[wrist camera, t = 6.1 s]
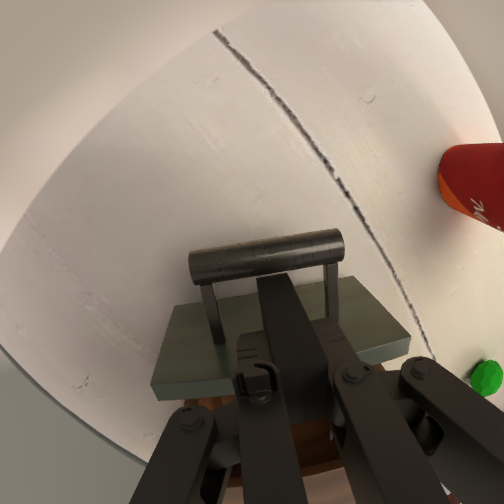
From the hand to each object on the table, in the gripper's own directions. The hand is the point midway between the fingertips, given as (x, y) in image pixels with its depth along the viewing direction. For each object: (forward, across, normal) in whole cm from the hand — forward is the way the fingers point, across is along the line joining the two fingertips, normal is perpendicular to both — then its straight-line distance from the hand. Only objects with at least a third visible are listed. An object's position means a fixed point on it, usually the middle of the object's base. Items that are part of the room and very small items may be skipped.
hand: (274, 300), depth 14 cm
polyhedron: (+6, +27, -21) cm, 34 cm away
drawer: (+5, 0, -6) cm, 8 cm away
